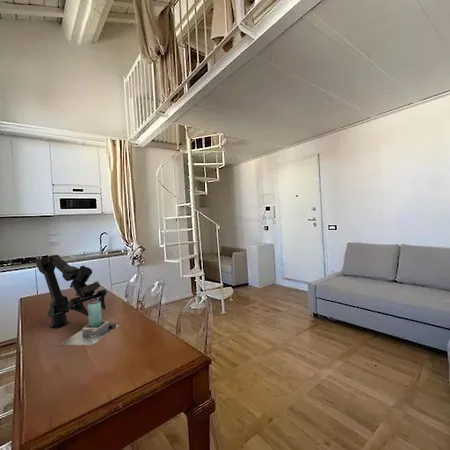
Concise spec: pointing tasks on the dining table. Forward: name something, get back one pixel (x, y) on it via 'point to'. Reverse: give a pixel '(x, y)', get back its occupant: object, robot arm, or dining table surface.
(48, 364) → the dining table surface
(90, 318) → the bottle
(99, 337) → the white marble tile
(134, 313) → the dining table surface
